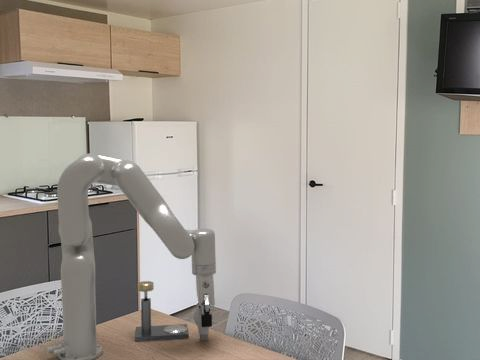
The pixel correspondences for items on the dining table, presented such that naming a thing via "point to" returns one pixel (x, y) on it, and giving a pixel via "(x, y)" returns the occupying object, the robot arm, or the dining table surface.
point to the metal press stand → (157, 327)
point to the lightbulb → (202, 330)
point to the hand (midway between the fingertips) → (205, 321)
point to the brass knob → (145, 287)
